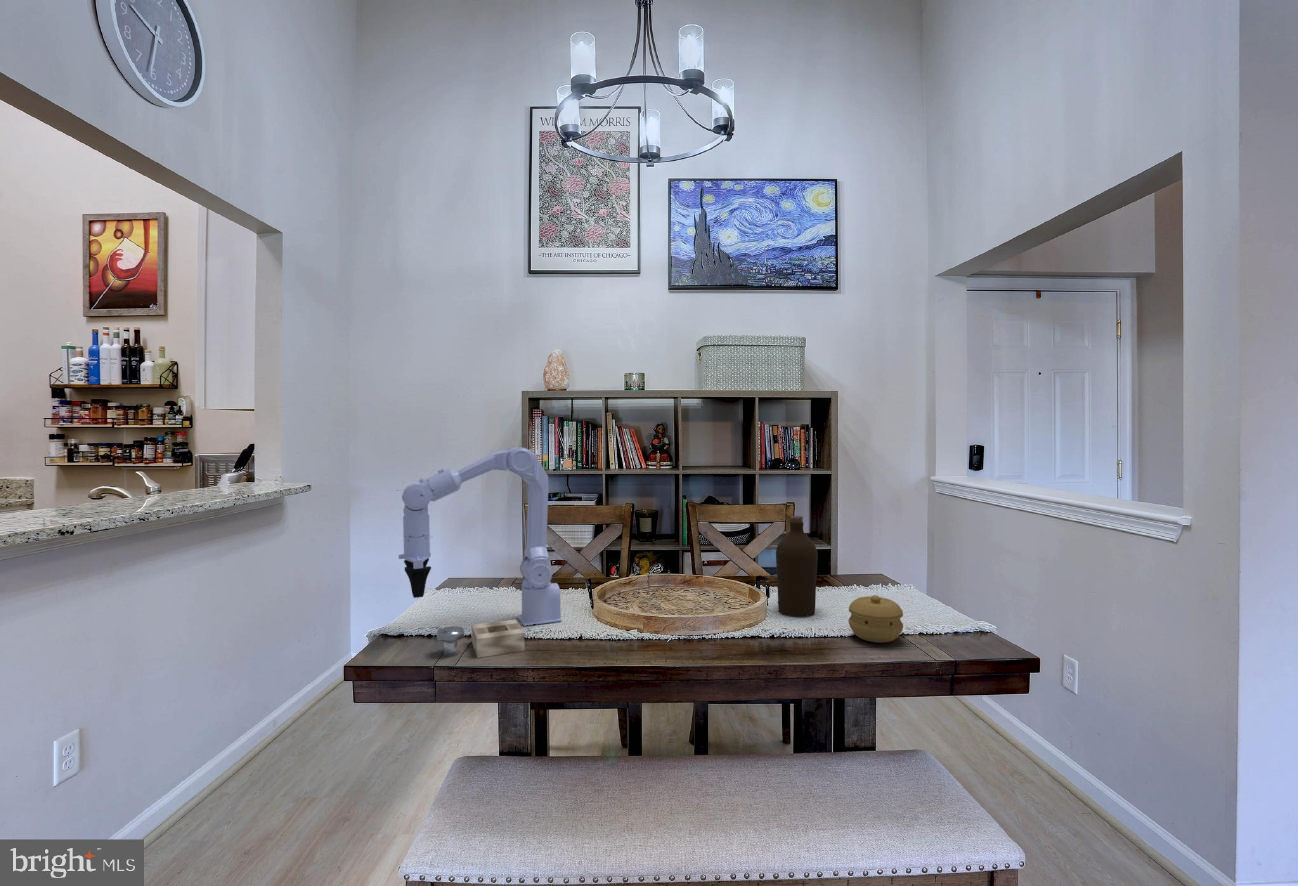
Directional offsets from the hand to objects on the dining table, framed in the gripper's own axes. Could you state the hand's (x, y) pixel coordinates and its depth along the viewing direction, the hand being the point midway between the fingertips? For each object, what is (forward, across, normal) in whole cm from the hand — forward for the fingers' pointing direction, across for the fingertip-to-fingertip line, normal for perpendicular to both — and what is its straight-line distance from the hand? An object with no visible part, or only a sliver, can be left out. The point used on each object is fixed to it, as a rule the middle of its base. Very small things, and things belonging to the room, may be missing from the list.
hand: (417, 592), depth 145 cm
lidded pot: (+10, +45, +96) cm, 107 cm away
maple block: (+10, +15, +16) cm, 24 cm away
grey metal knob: (+10, +15, +6) cm, 19 cm away
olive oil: (+10, +21, +92) cm, 95 cm away
